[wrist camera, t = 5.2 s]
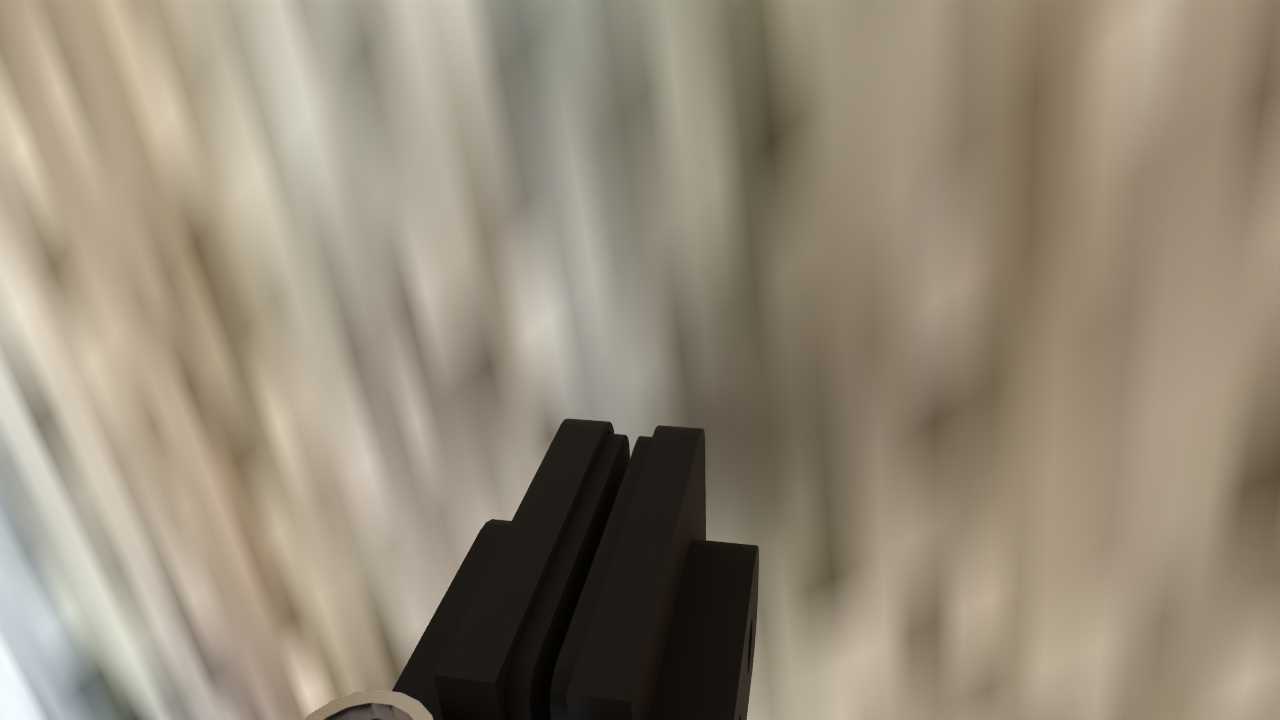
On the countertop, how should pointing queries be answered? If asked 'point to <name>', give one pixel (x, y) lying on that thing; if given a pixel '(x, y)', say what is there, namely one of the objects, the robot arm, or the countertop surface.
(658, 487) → the robot arm
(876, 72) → the countertop surface
